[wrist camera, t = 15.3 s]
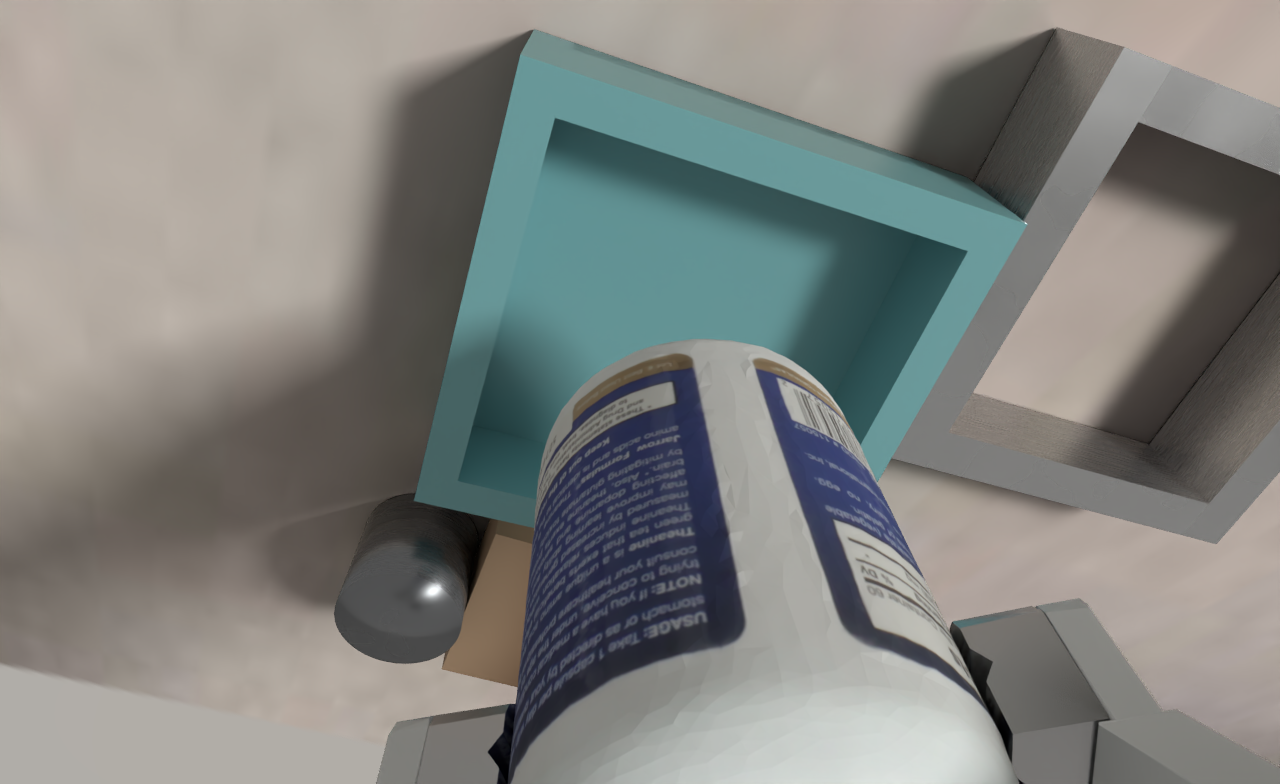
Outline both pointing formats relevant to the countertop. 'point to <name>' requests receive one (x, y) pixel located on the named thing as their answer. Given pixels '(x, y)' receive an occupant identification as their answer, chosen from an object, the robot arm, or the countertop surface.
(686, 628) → the pill bottle
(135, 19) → the countertop surface
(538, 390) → the tray
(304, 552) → the countertop surface
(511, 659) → the tan cardboard-like brick
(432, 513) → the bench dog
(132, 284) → the countertop surface
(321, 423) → the countertop surface
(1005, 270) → the collar
